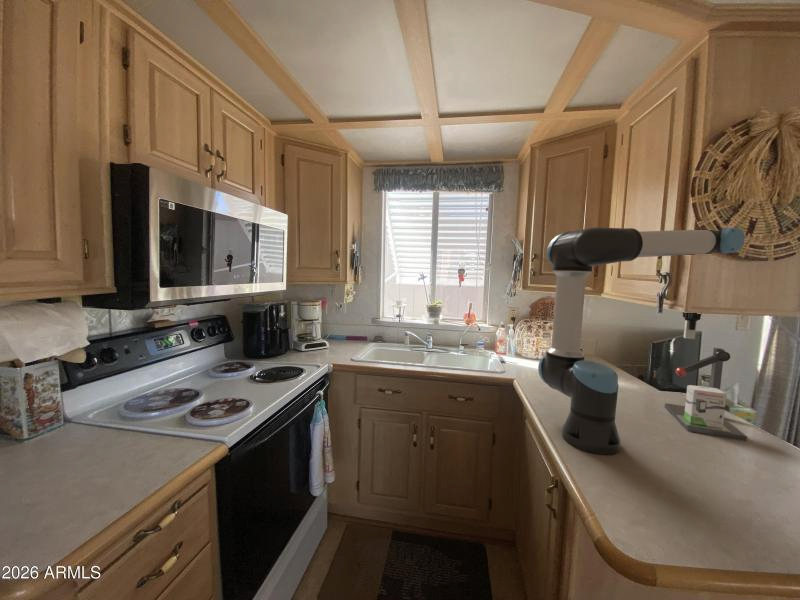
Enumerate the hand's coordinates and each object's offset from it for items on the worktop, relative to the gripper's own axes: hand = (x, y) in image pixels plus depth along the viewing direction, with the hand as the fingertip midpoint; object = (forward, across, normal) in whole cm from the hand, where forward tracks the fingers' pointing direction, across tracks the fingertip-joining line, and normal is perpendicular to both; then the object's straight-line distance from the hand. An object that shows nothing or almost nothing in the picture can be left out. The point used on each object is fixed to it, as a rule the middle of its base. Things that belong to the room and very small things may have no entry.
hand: (689, 338), depth 116 cm
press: (+28, -6, -4) cm, 29 cm away
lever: (+10, 0, -5) cm, 12 cm away
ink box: (+27, -12, -2) cm, 29 cm away
